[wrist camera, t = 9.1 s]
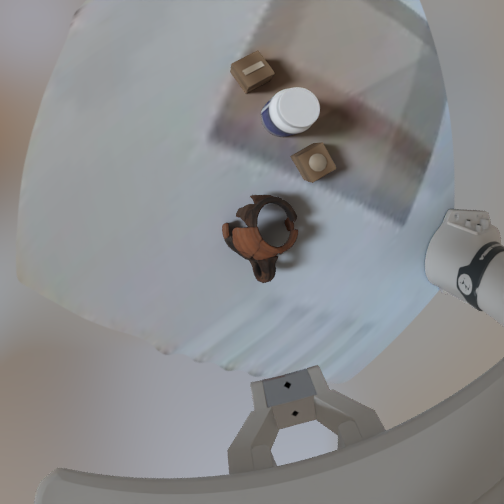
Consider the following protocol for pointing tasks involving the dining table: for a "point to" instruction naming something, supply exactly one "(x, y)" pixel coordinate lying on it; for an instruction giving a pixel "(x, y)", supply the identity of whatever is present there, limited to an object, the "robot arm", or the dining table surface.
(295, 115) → the pill bottle
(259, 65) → the walnut block bar
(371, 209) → the dining table surface
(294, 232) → the pottery mug
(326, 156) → the walnut block dot
